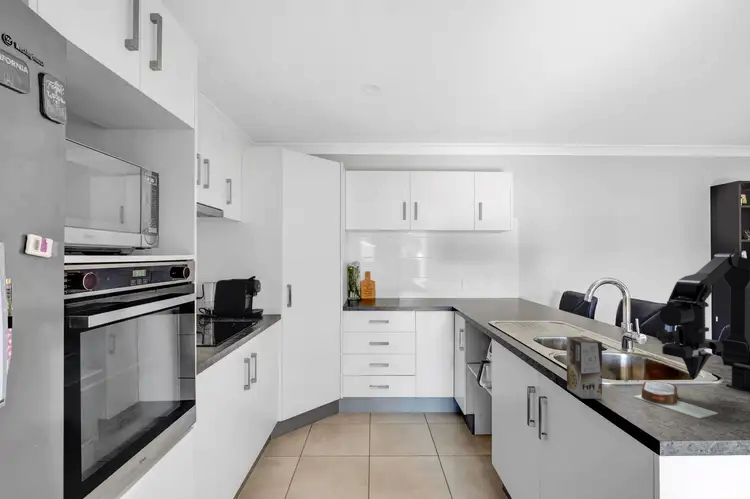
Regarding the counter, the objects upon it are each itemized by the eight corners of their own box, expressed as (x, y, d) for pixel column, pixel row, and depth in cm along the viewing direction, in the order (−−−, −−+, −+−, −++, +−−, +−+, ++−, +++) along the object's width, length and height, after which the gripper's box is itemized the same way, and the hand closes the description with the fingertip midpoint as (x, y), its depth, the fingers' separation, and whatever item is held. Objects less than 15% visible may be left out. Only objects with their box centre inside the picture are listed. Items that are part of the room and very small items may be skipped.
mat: (651, 393, 124) (651, 392, 124) (717, 413, 109) (717, 412, 109) (633, 397, 121) (633, 396, 121) (699, 418, 105) (699, 417, 105)
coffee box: (603, 398, 120) (603, 342, 120) (580, 399, 119) (580, 342, 120) (586, 388, 129) (586, 335, 129) (565, 388, 129) (565, 335, 129)
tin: (677, 392, 125) (644, 388, 130) (676, 381, 125) (643, 378, 130) (677, 406, 112) (640, 402, 117) (676, 395, 113) (639, 391, 118)
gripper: (682, 316, 131) (683, 366, 131) (643, 321, 123) (643, 374, 123) (724, 322, 120) (724, 376, 120) (684, 327, 113) (684, 385, 113)
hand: (693, 377), depth 119 cm, fingers closed
